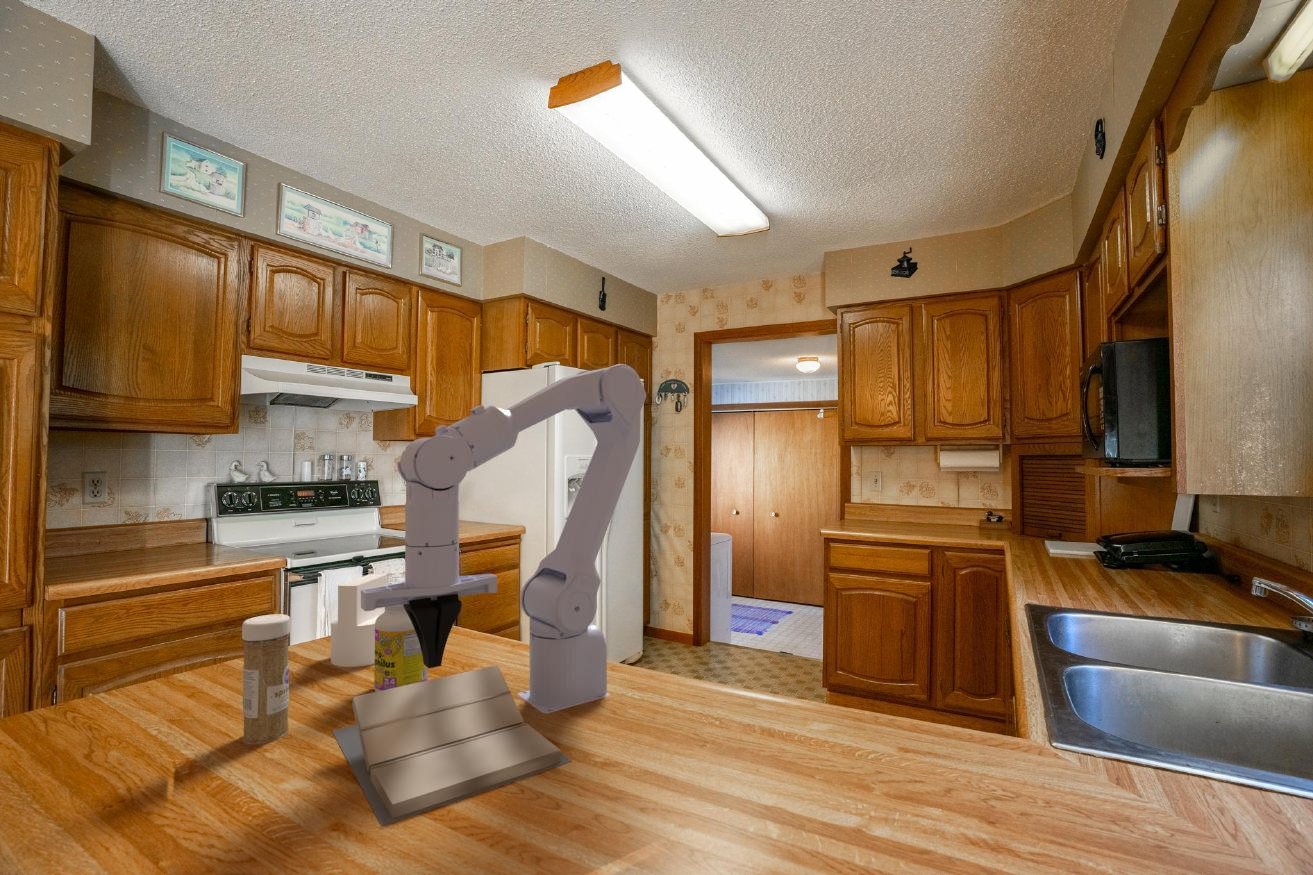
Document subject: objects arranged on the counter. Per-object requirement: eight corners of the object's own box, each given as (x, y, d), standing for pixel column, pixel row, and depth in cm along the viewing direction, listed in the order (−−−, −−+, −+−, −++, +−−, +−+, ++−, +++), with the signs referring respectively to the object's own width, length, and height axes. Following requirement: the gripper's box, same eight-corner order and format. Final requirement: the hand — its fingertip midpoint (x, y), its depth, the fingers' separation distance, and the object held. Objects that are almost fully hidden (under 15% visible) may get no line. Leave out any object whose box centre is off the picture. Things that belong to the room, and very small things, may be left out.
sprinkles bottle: (290, 742, 69) (291, 619, 69) (241, 753, 66) (242, 625, 67) (288, 727, 73) (289, 610, 73) (241, 737, 70) (242, 616, 71)
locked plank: (525, 733, 69) (525, 721, 69) (560, 761, 63) (560, 749, 63) (370, 779, 60) (370, 766, 60) (392, 818, 53) (392, 803, 53)
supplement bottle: (365, 691, 84) (365, 594, 84) (412, 677, 89) (412, 586, 89) (389, 704, 79) (389, 602, 80) (437, 689, 84) (437, 592, 85)
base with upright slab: (352, 647, 103) (352, 573, 103) (405, 648, 102) (405, 574, 102) (317, 666, 94) (318, 585, 94) (374, 667, 93) (374, 586, 93)
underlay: (486, 697, 81) (486, 692, 81) (571, 766, 63) (571, 760, 63) (331, 736, 70) (331, 730, 70) (381, 833, 52) (381, 825, 52)
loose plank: (495, 672, 76) (497, 664, 76) (521, 728, 70) (524, 720, 70) (352, 704, 67) (353, 696, 66) (368, 773, 61) (369, 764, 60)
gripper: (481, 534, 78) (481, 644, 78) (354, 545, 70) (354, 668, 69) (504, 540, 73) (504, 658, 72) (369, 553, 64) (369, 687, 64)
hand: (432, 664), depth 70 cm, fingers closed
